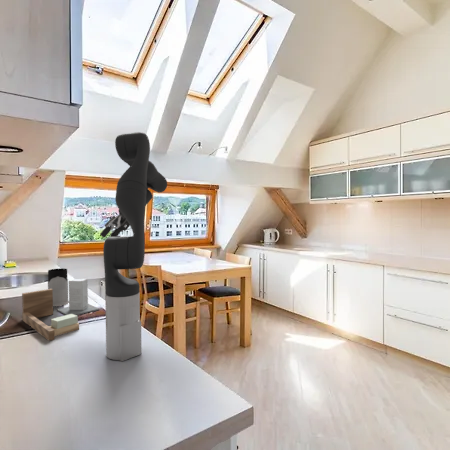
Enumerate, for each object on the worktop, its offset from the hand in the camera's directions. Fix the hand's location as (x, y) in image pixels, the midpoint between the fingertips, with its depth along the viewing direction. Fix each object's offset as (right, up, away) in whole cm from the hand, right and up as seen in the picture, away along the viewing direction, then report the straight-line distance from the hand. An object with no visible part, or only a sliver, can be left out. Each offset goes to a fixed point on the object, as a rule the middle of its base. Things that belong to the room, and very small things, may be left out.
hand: (106, 236), depth 125 cm
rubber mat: (-13, -31, +4) cm, 34 cm away
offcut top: (-8, -29, -18) cm, 35 cm away
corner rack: (-15, -31, -13) cm, 37 cm away
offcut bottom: (-8, -32, -18) cm, 37 cm away
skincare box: (-13, -30, +5) cm, 33 cm away
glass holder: (-28, -30, +16) cm, 44 cm away
